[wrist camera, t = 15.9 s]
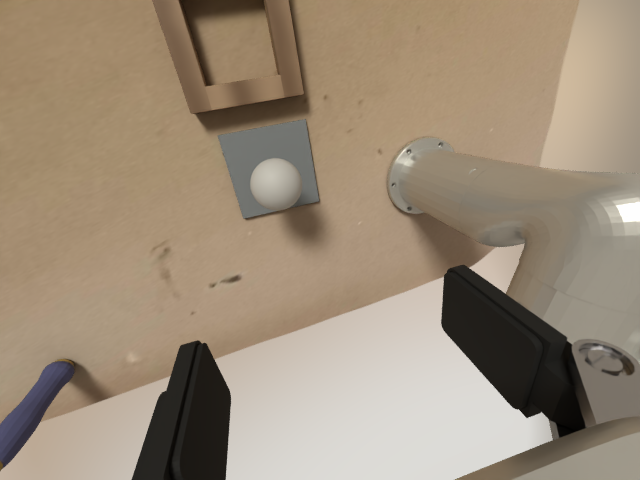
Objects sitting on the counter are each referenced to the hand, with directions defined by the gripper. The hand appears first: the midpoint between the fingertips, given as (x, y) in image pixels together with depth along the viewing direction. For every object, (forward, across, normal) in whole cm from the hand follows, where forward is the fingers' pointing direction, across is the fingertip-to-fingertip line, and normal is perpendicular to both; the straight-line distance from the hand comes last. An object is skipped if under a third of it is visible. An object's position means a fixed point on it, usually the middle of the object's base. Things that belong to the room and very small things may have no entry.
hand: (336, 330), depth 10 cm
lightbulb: (+33, 0, 0) cm, 33 cm away
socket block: (+33, +1, -16) cm, 37 cm away
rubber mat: (+33, 0, 0) cm, 33 cm away
